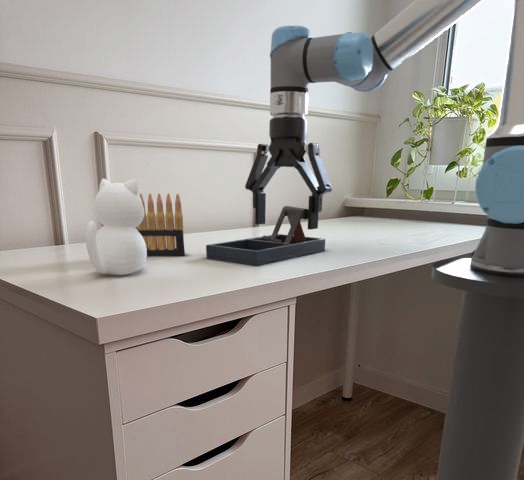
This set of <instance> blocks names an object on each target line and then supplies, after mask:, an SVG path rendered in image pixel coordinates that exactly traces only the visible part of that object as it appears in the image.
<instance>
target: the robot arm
mask: <svg viewBox="0 0 524 480" xmlns="http://www.w3.org/2000/svg"><path fill="white" fill-rule="evenodd" d="M484 1H485V0H413V2H411V3H410V4H409V5H408V6H407V7H405V8H403V10H402V11H401V12H399V13H398V14H397V15H396V16H394V18H392V19H391V20H390V21H389V22H387V23H386V24H385V25H384V26H382V27H381V28H380V29H379V30H378V31H376V32H375V33H374V34H373V35H372V36H369V35H368V33H366V32H362V31H361V32H351V31H346V32H344V33H340V34H332V35H325V36H324V35H323V36H315V37H312V36H311V31H310V29H309V28H307V27H305V26H303V25H281V26H279V27H277V28H275V29H274V30H273V32H272V34H271V42H270V52H269V59H270V94H269V115H270V116H271V118H270V120H269V128H268V129H269V132H268V134H269V135H268V137H269V138H270V144H267V143H258V144H257V146H256V148H257V149H256V155H255V159H254V161H253V164H252V167H251V169H250V171H249V174H248V177H247V180H246V182H245V185H244V188H245V190H247V191H250V192H252V208H253V209H254V224H255V225H257V226H259V225H266V206H267V205H266V202H267V201H266V200H267V199H266V198H267V197H266V196H267V194H266V193H265V191H264V190H265V188H266V187H267V186H268V184H269V183H270V181H271V179H272V178H273V176H274V175H275V174H276V172H277V171H278V170H279V169H280V168H294V169H296V170H297V172H298V173H299V175H300V177H301V178H302V179H303V181H304V183H305V185H306V186H307V187H308V190H310V192H311V194H310V195H308V208H307V209H308V219H307V230H317V229H319V213H322V211H323V197H324V195H325V194H326V195H327V194H328V193H332V191H333V187H332V185H331V182H330V179H329V176H328V174H327V170H326V168H325V166H324V162H323V159H322V157H321V149H320V148H321V147H320V144H319V143H317V142H309V143H308V144H307V143H306V139H307V132H308V120H307V119H306V118H305V117H307V116H308V112H309V111H308V110H309V87H310V86H309V85H310V84H316V83H336V84H340V85H342V86H343V85H344V86H345V87H349V88H351V89H353V90H355V91H357V92H361V93H362V92H363V93H369V92H374V91H376V90H378V89H379V88H380V87H381V86H382V85H383V84H384V83H385V81H386V79H387V77H388V74H390V73H391V72H392V71H393V70H395V69H396V68H397V67H399V66H400V65H402V63H404V62H405V61H406V60H408V59H409V58H411V57H412V56H413V55H414V54H416V53H417V52H419V50H421V49H423V48H424V47H425V46H426V45H428V44H429V43H430V42H432V41H433V40H434V39H435V38H437V37H438V36H440V35H441V34H443V32H444V31H446V30H448V29H449V28H450V27H451V26H453V25H454V24H456V23H457V22H458V21H459V20H460V19H462V18H463V17H465V16H466V15H467V14H468V13H470V12H471V11H473V10H474V9H475V8H476V7H478V6H479V5H480V4H482V3H483V2H484ZM503 77H504V79H503V87H502V92H501V101H500V107H499V116H498V123H497V126H496V127H495V128H494V129H493V130H492V131H491V132H490V133H489V134H488V135H487V136H486V139H485V146H484V153H483V159H482V161H483V162H482V165H481V167H480V170H479V172H478V174H477V177H476V180H475V187H474V188H475V189H474V192H475V197H476V201H477V203H478V205H479V207H480V209H481V210H482V211H483V213H485V214H486V215H487V217H486V223H485V229H484V232H483V234H482V236H481V238H480V240H479V242H478V244H477V246H476V248H475V249H474V250H473V251H472V253H471V254H470V257H471V258H472V259H471V264H470V268H471V269H472V270H475V271H478V272H481V273H486V274H491V275H498V276H506V277H519V278H524V0H514V5H513V11H512V20H511V26H510V33H509V42H508V49H507V57H506V62H505V71H504V76H503ZM270 155H271V156H270ZM305 155H307V156H308V159H309V163H310V166H311V168H310V167H309V163H308V162H307V159H306V158H305ZM269 156H270V158H269ZM268 158H269V159H268ZM267 160H268V161H267ZM311 169H312V170H311ZM312 171H313V172H312Z"/></svg>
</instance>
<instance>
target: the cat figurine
mask: <svg viewBox="0 0 524 480" xmlns="http://www.w3.org/2000/svg"><path fill="white" fill-rule="evenodd" d="M93 211H94V214H95V217H96V219H97V220H98V221H99V223H100V224H101V225H103V226H101V227H100V228H99V229H98V230H97V225H96V222H95V221H94V220H89V222H88V223H87V225H86V228H85V244H86V245H85V246H86V250H87V254H88V257H89V258H88V259H89V260H90V263H91V265H92V267H93V269H95V271H96V272H98V273H99V274H102V275H111V276H126V275H130V274H133V273H136V272H138V271H140V270H142V269H143V268H144V266H145V265H146V262H147V258H148V256H147V249H146V244H145V241H144V239H143V237H142V235H141V234H140V233H139V232H138V230H137V229H135V228H136V227H138V228H139V225H140V224H141V222H142V221H143V218H144V207H143V203H142V200H141V198H140V194H139V185H138V181H137V179H136V178H131V179H129V180H128V181H126V182H125V183H123V182H110V181H109V180H108V179H106V178H102V179H101V180H100V183H99V188H98V192H97V194H96V196H95V198H94V203H93Z"/></svg>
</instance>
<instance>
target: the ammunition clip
mask: <svg viewBox="0 0 524 480" xmlns="http://www.w3.org/2000/svg"><path fill="white" fill-rule="evenodd" d="M139 196H140V198H141V200H142V203H143V207H144V218H143V221H142V222H141V224H140V225H139V226H138V227H136V228H135V229H137V230H138V232H139V233H140V234H141V235H142V237H143V239H144V241H145V244H146V249H147V257H184V256H186V253H185V252H186V250H185V241H184V240H185V239H184V215H183V211H182V201H181V197H180V194H179V193H176V196H175V201H174V213H173V202H172V198H171V194H170V193H167V194H166V199H165V214H164V203H163V198H162V196H161V194H160V193H158V194H157V197H156V213H155V205H154V203H155V202H154V199H153V196H152V194H151V193H148V195H147V196H148V197H147V213H146V205H145V199H144V195H143V193H140V194H139Z"/></svg>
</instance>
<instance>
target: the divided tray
mask: <svg viewBox="0 0 524 480" xmlns="http://www.w3.org/2000/svg"><path fill="white" fill-rule="evenodd" d="M287 235H288V234H284V233H283V234H282V233H278V234H277V237H276V239H279V240H282V241H283V243H278V242H270V241H263V236H264V235H263V236H256V237H249V238H243V239H236V240H230V241H223V242H216V243H210V244H206V245H205V253H206V254H205V255H206V256H205V257H206V259H210V260H215V261H223V262H228V263H235V264H236V263H237V264H242V265H250V266H256V267H257V266H261V265H266V264H271V263H275V262H279V261H284V260H289V259H294V258H298V257H303V256H308V255H312V254H316V253H320V252H325V251H326V238H324V237H323V238H322V237H312V236H305V238H306V242H301V241H300V243H296V241H295V238H294V235H293V237H292V240H291V242H290V244H287V243H284V242H285V240H286V237H287ZM267 236H268V237H271V236H272V234H269V235H267Z"/></svg>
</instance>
